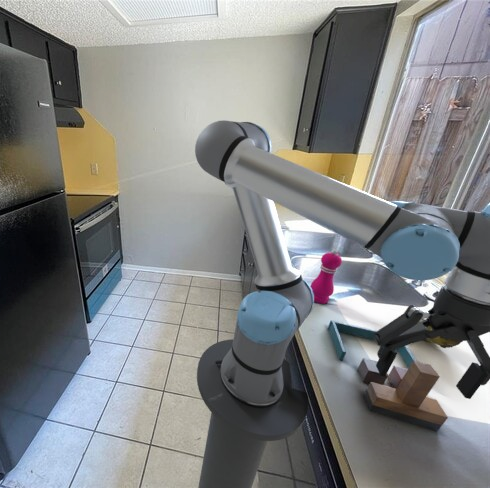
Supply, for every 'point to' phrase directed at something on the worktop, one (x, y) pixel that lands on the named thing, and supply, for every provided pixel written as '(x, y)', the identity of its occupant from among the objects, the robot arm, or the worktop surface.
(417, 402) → the wooden t-shaped block
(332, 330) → the teal u-shaped frame
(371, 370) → the walnut block
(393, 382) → the mahogany block
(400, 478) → the worktop surface
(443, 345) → the yellow-green oblong lump
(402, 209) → the robot arm
